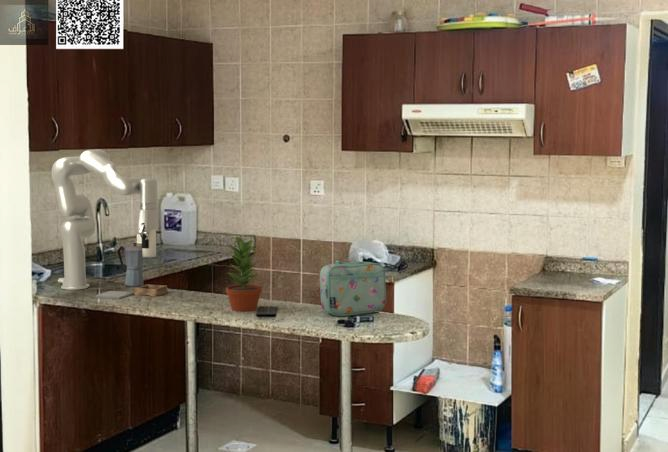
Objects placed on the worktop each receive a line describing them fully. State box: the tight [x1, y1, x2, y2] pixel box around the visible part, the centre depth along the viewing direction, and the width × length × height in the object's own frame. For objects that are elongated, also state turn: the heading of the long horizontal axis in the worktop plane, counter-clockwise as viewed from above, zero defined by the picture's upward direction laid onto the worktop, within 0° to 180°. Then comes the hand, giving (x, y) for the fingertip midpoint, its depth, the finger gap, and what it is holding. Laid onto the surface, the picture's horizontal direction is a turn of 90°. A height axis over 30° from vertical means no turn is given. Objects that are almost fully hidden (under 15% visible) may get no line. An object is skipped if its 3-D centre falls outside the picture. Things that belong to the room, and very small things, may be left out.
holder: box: [134, 284, 168, 297], centre depth 440 cm, size 10×10×3 cm
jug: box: [136, 229, 157, 258], centre depth 439 cm, size 9×6×12 cm
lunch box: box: [319, 260, 387, 317], centre depth 394 cm, size 27×10×21 cm, turn 114°
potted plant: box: [225, 235, 263, 312], centre depth 403 cm, size 15×15×30 cm
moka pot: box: [116, 242, 145, 288], centre depth 462 cm, size 10×15×20 cm, turn 78°
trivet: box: [94, 290, 135, 300], centre depth 436 cm, size 12×12×1 cm
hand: (149, 246), depth 438 cm, fingers closed on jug, 6 cm apart
